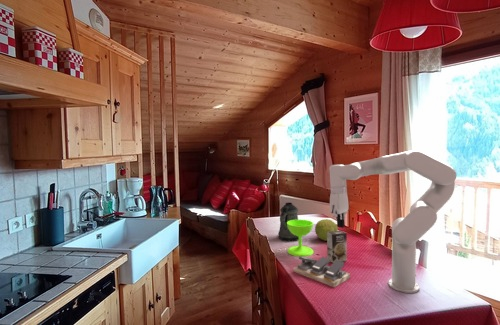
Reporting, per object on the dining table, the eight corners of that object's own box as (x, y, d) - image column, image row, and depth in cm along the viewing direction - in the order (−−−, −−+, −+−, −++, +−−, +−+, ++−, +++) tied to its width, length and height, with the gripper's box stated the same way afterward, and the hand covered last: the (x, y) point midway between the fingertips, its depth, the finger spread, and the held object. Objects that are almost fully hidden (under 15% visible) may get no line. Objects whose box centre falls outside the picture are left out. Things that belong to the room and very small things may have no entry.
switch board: (310, 263, 162) (309, 254, 162) (350, 277, 144) (349, 267, 144) (293, 271, 153) (293, 262, 152) (334, 287, 135) (334, 276, 135)
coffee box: (332, 263, 162) (332, 234, 161) (326, 259, 168) (326, 231, 167) (347, 261, 165) (347, 232, 164) (340, 257, 171) (340, 229, 170)
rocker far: (309, 260, 159) (310, 257, 159) (316, 262, 156) (317, 260, 156) (298, 258, 152) (299, 256, 153) (305, 261, 149) (306, 258, 149)
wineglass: (313, 257, 171) (313, 226, 170) (286, 255, 175) (285, 226, 174) (313, 247, 187) (313, 219, 186) (288, 246, 190) (287, 219, 189)
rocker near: (336, 262, 147) (335, 260, 147) (344, 264, 144) (344, 262, 143) (325, 274, 141) (325, 272, 141) (333, 277, 138) (333, 275, 137)
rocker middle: (322, 258, 153) (322, 256, 153) (330, 261, 150) (329, 258, 149) (311, 269, 147) (311, 266, 147) (319, 271, 143) (318, 269, 143)
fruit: (338, 244, 193) (327, 225, 191) (319, 248, 201) (308, 229, 199) (343, 230, 206) (333, 212, 204) (325, 234, 214) (315, 217, 212)
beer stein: (300, 234, 215) (300, 200, 214) (303, 243, 196) (302, 206, 195) (278, 234, 217) (277, 200, 216) (278, 242, 198) (277, 206, 196)
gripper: (340, 187, 151) (342, 222, 152) (323, 191, 142) (325, 229, 142) (353, 188, 146) (356, 224, 146) (336, 192, 136) (339, 231, 137)
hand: (341, 226), depth 144 cm, fingers closed
